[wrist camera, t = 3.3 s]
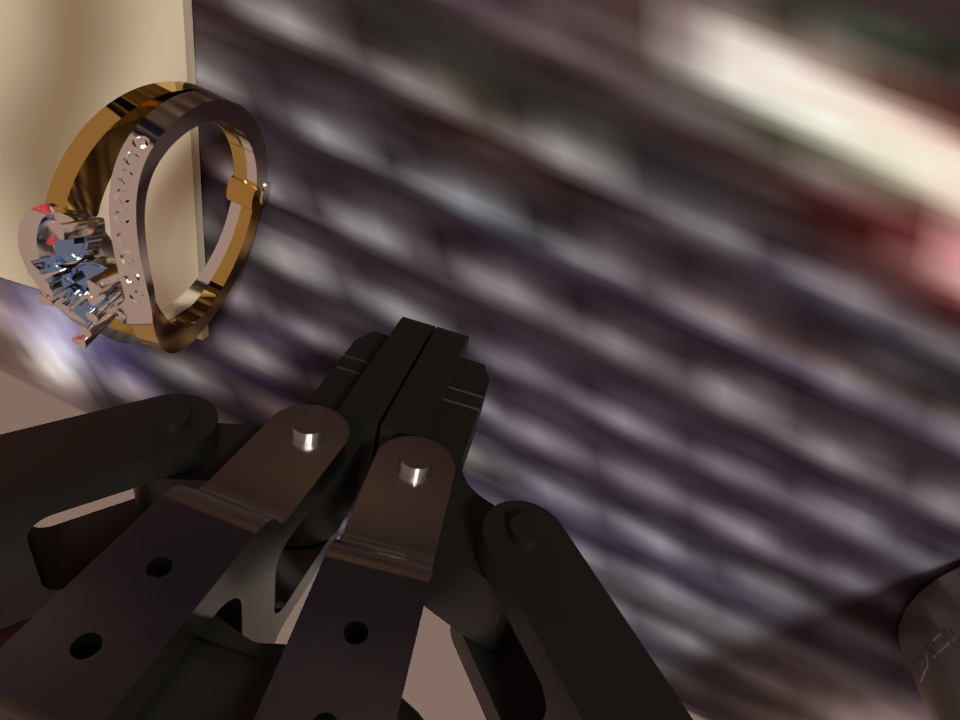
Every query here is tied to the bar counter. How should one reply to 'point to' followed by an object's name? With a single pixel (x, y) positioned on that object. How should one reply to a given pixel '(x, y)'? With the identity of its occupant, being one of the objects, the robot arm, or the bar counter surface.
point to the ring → (138, 218)
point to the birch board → (77, 98)
